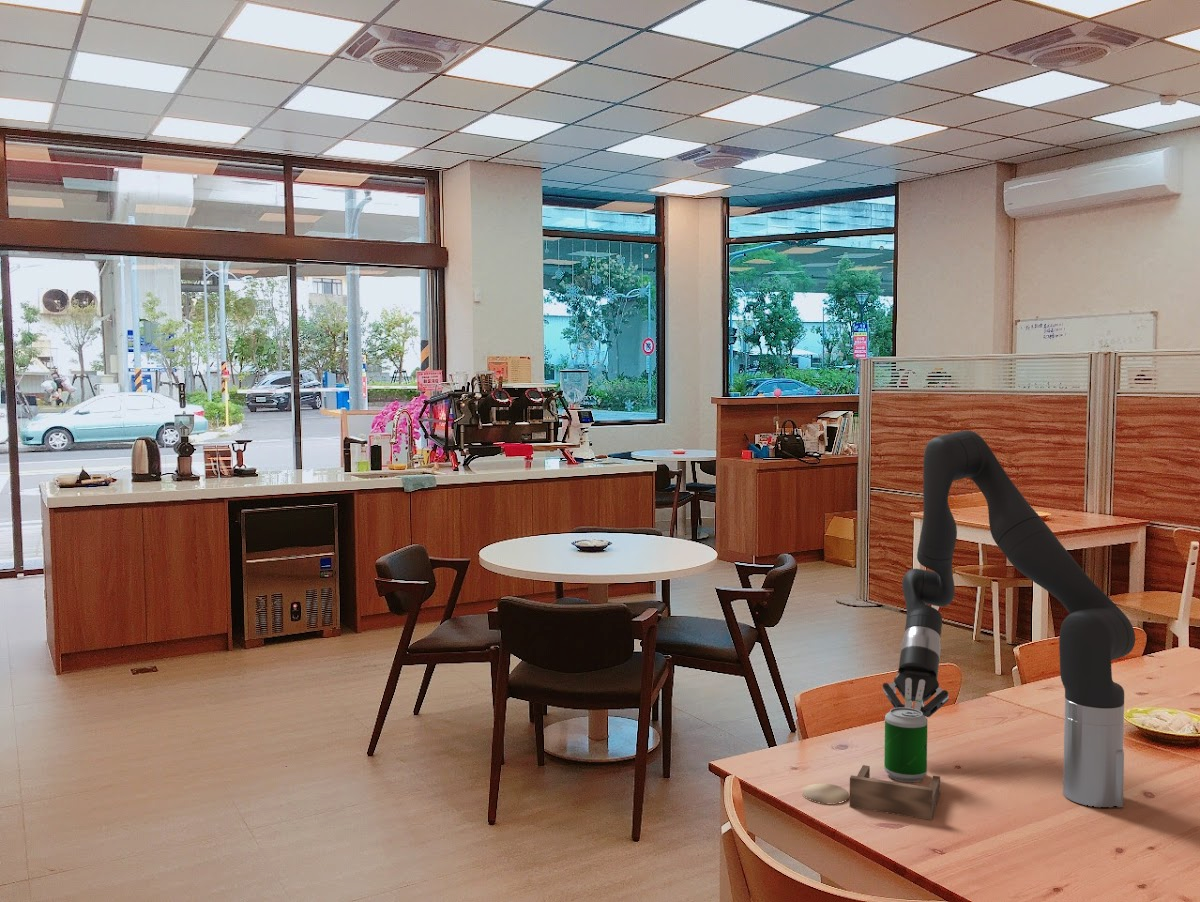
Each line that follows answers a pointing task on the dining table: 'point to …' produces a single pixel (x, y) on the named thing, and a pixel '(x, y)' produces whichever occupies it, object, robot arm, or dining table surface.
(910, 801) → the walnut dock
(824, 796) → the beige domed disc
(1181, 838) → the dining table surface
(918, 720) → the soda can
